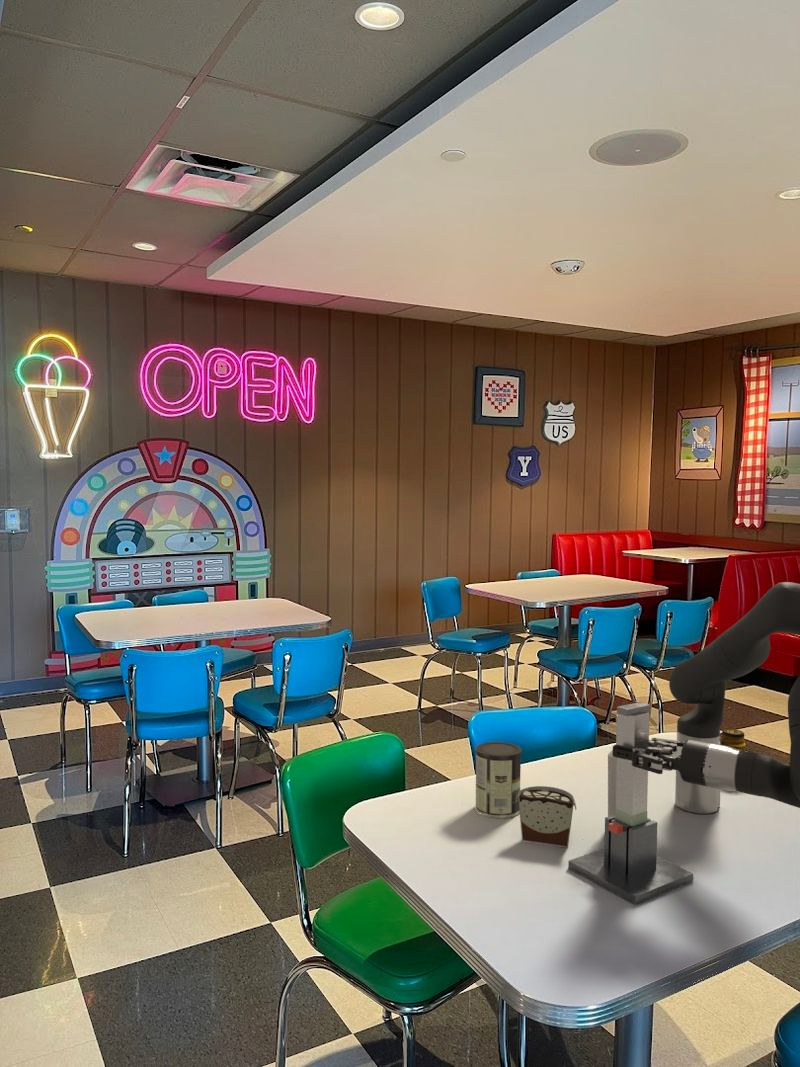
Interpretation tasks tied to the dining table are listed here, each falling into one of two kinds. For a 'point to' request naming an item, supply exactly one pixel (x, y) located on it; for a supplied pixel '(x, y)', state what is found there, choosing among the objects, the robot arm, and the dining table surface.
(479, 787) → the coffee can
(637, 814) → the post
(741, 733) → the condiment
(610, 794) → the bottle
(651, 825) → the stand
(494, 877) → the dining table surface
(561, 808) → the food container
